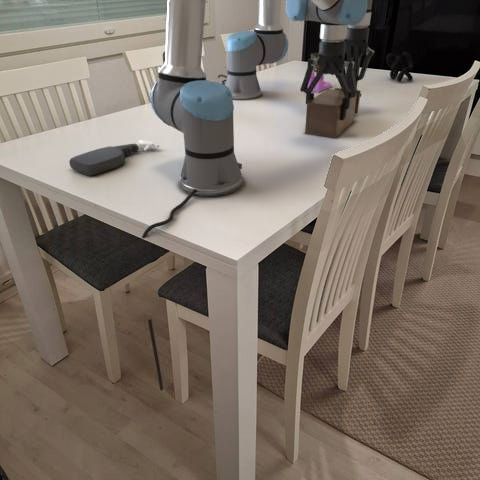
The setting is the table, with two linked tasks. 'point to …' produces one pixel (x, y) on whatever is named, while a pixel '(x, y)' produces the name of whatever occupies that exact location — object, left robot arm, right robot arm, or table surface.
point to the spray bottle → (106, 157)
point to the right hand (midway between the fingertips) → (349, 99)
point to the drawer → (356, 99)
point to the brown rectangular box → (328, 114)
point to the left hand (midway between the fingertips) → (326, 117)
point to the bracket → (319, 83)
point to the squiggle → (399, 66)
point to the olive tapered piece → (315, 56)
